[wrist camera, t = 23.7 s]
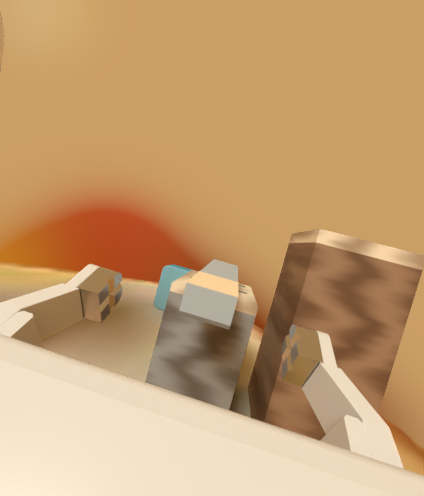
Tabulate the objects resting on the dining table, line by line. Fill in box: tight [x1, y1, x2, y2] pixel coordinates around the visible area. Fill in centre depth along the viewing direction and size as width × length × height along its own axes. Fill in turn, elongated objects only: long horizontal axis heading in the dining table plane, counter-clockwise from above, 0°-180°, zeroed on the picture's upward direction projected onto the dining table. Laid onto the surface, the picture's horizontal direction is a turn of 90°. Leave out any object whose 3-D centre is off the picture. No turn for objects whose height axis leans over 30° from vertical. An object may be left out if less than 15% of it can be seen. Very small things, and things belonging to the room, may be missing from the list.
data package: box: [154, 265, 192, 311], centre depth 66 cm, size 12×4×12 cm, turn 80°
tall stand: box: [248, 229, 424, 441], centre depth 33 cm, size 11×13×26 cm
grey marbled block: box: [146, 270, 258, 410], centre depth 34 cm, size 10×13×16 cm
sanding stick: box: [178, 259, 239, 330], centre depth 29 cm, size 4×22×3 cm, turn 174°
